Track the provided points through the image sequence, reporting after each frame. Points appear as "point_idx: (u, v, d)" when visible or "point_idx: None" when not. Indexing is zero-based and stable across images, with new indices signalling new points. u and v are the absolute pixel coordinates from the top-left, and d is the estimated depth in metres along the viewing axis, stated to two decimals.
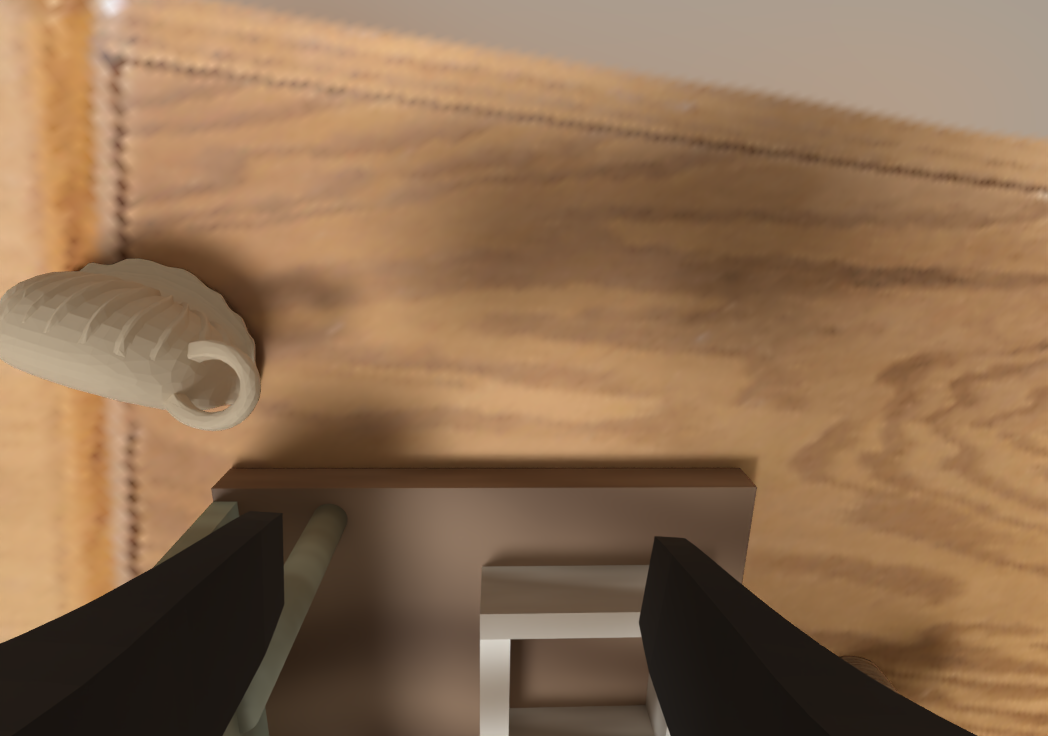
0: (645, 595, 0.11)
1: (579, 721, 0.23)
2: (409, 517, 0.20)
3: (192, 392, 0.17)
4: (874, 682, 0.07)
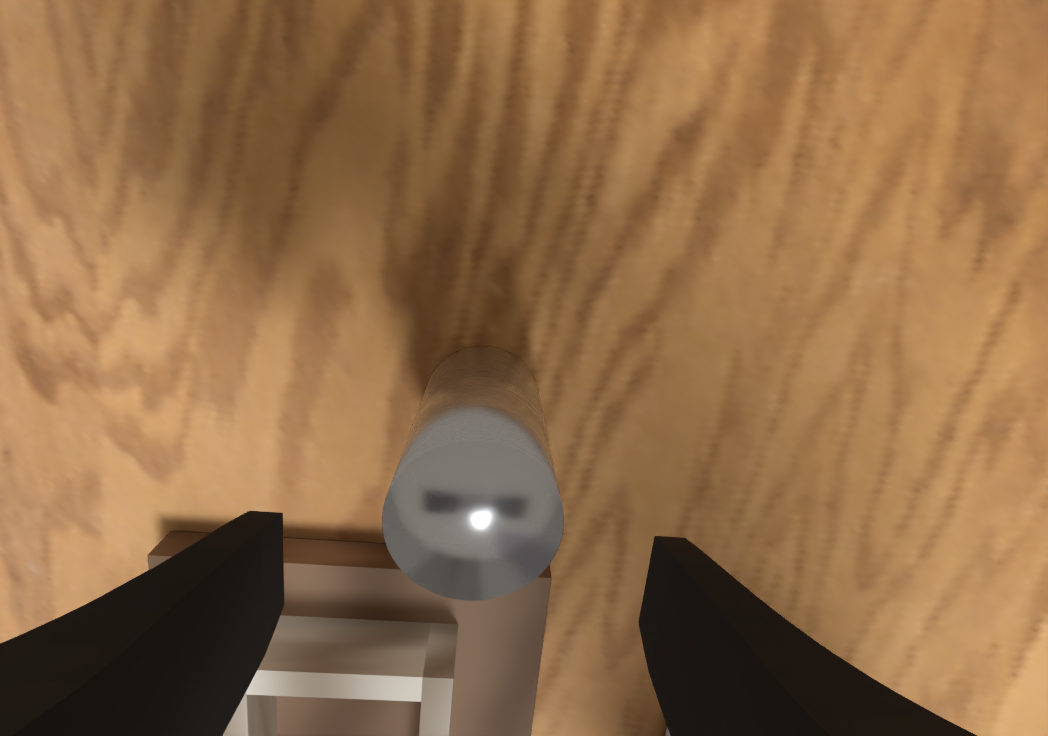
0: (645, 595, 0.11)
1: None
2: None
3: None
4: (874, 682, 0.07)
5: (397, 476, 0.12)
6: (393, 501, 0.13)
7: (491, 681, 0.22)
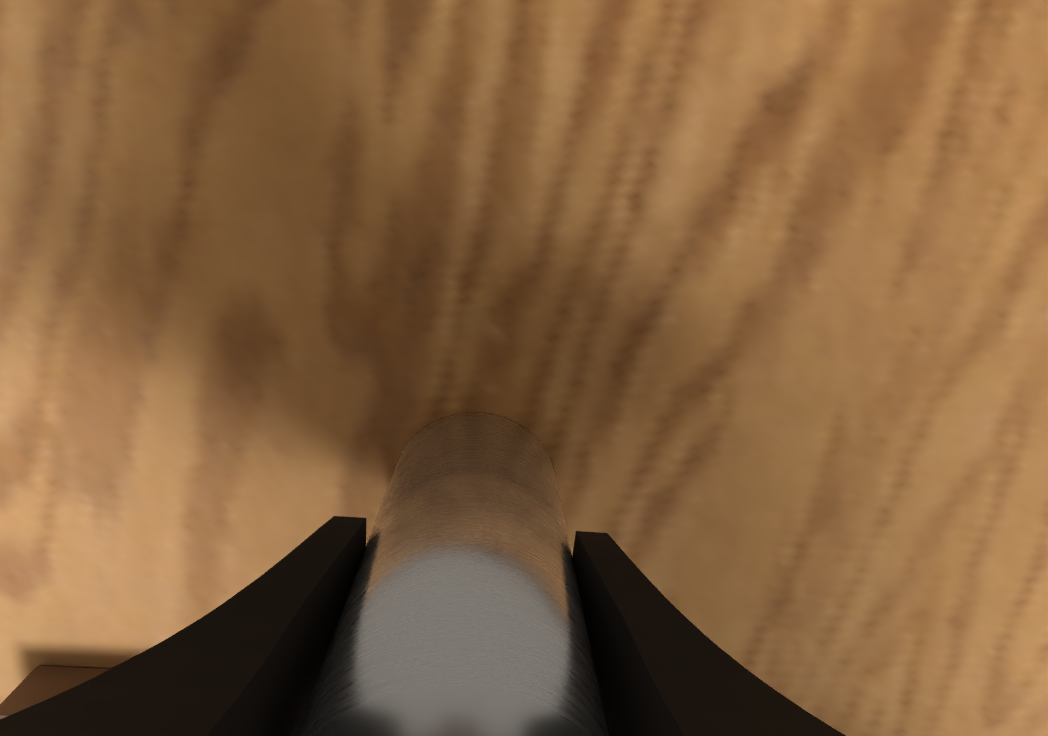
0: None
1: None
2: None
3: None
4: (752, 677, 0.07)
5: None
6: None
7: None
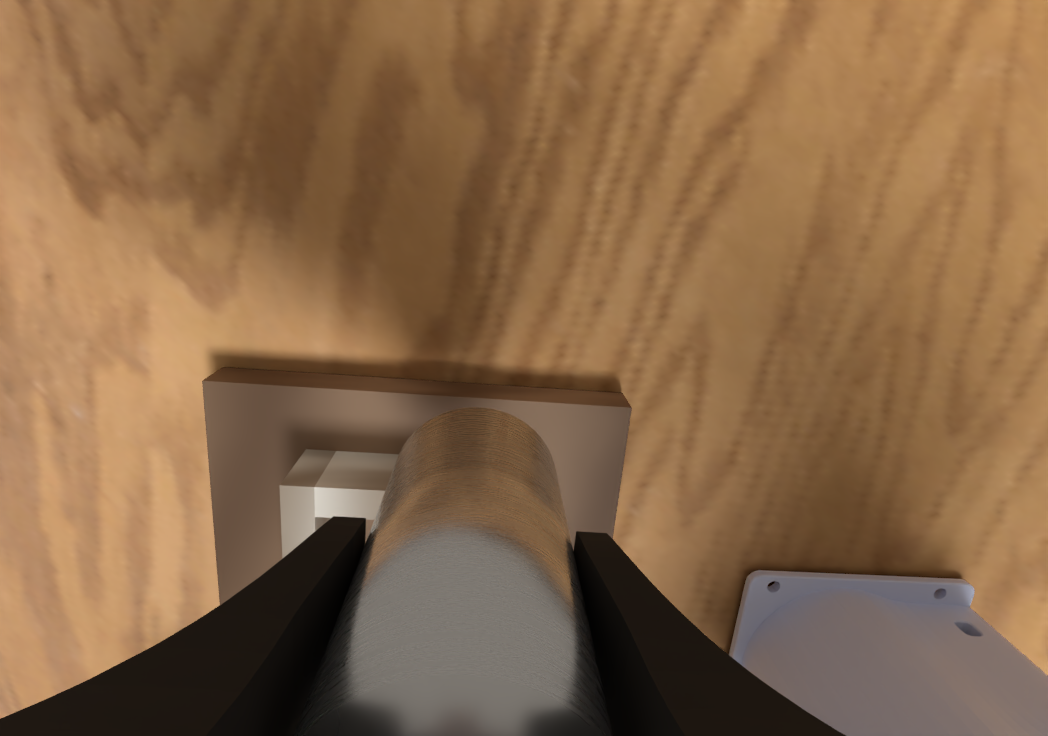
0: None
1: None
2: None
3: None
4: (752, 677, 0.07)
5: (303, 734, 0.06)
6: None
7: None
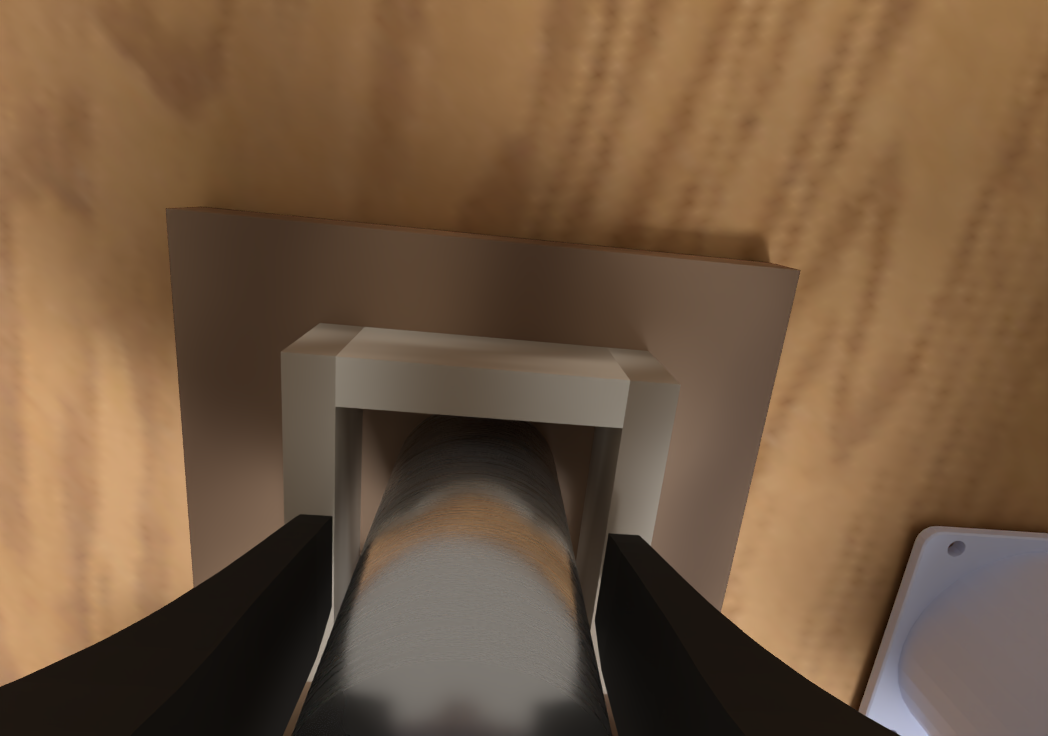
0: (600, 593, 0.11)
1: (590, 504, 0.14)
2: None
3: None
4: (802, 679, 0.07)
5: (309, 715, 0.06)
6: None
7: (688, 453, 0.14)
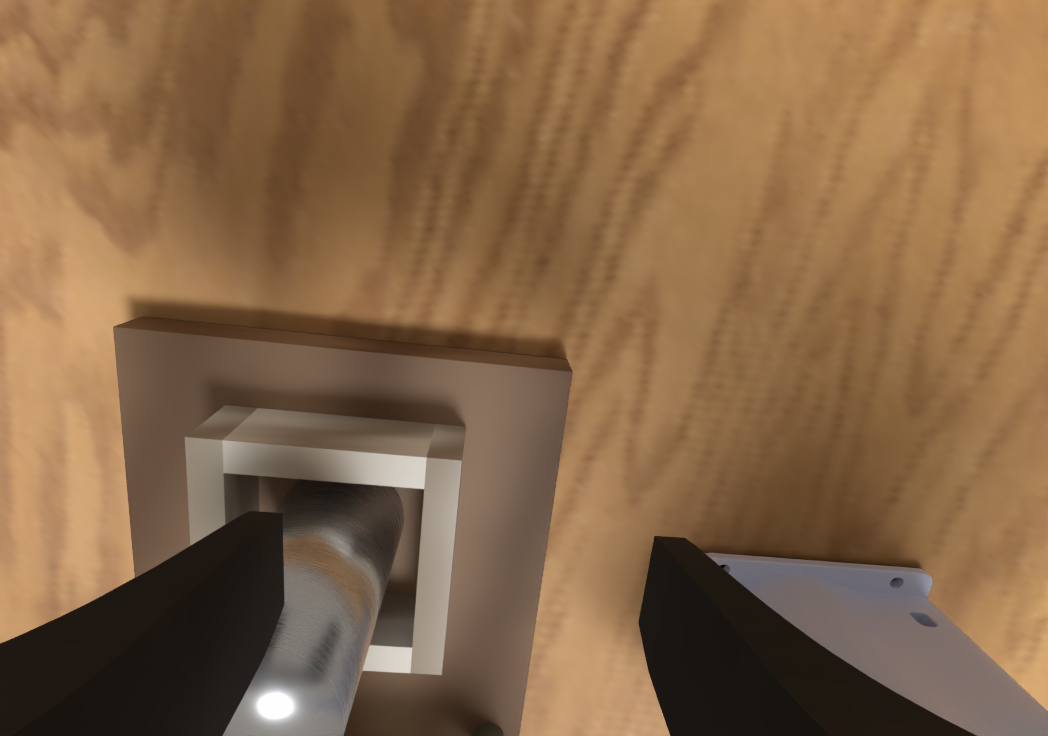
0: (645, 595, 0.11)
1: None
2: None
3: None
4: (874, 682, 0.07)
5: None
6: None
7: (501, 499, 0.20)
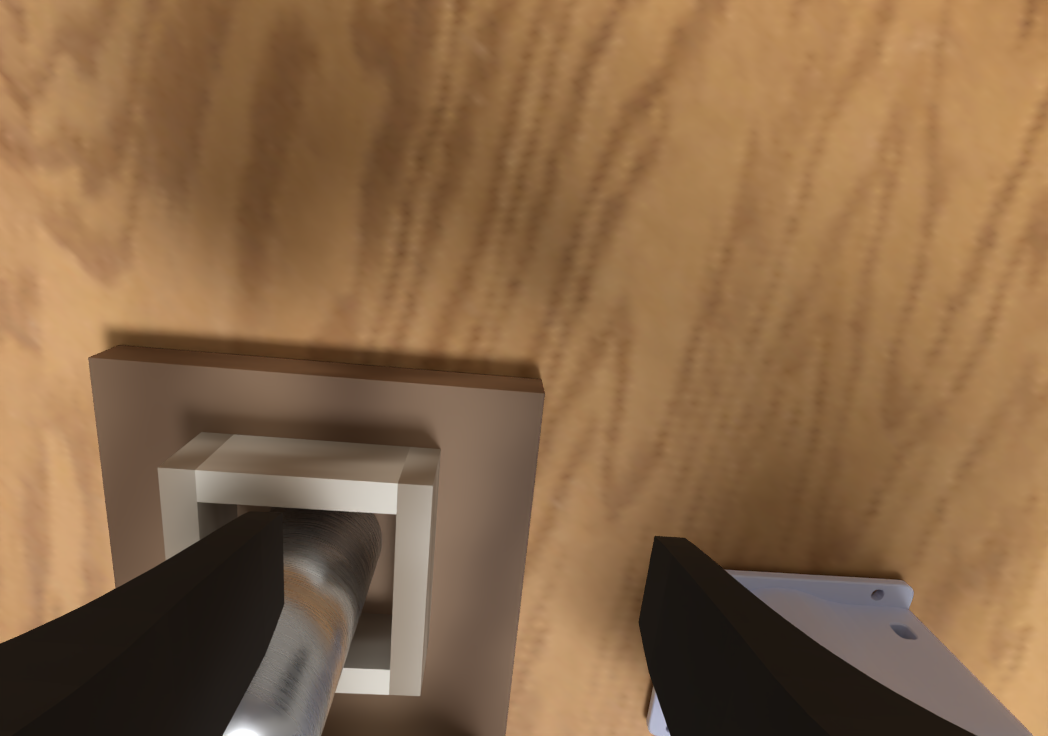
0: (645, 595, 0.11)
1: None
2: None
3: None
4: (874, 682, 0.07)
5: None
6: None
7: (478, 519, 0.20)
